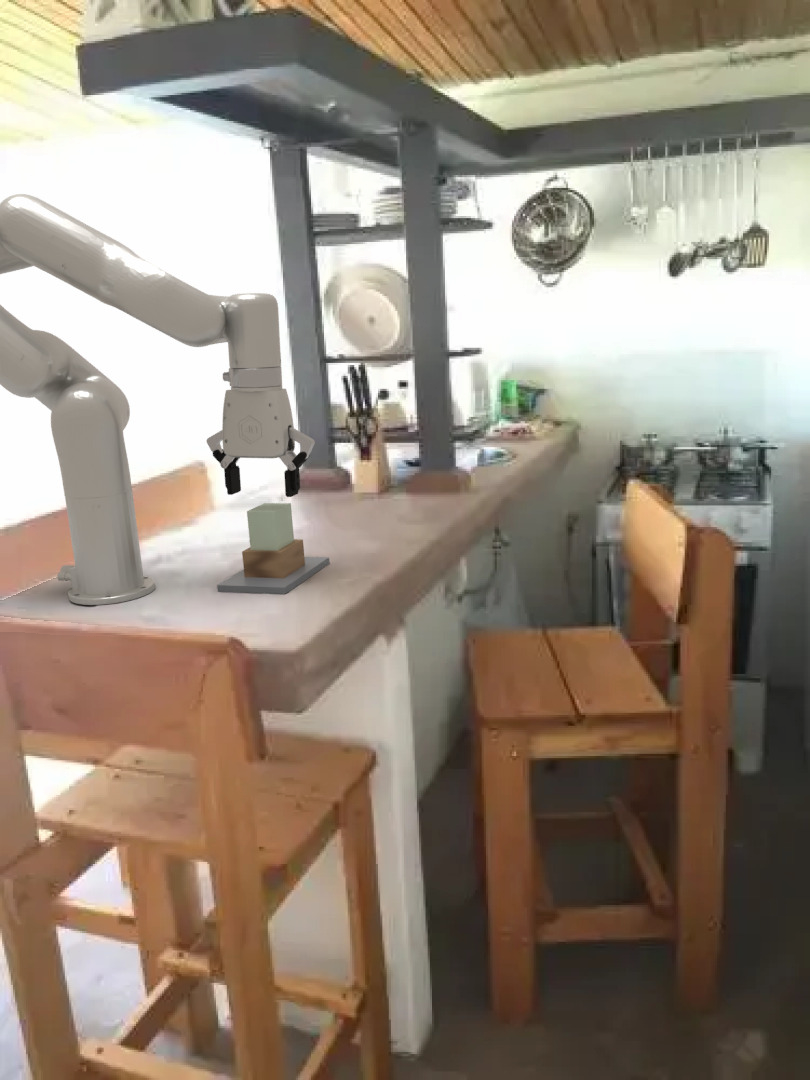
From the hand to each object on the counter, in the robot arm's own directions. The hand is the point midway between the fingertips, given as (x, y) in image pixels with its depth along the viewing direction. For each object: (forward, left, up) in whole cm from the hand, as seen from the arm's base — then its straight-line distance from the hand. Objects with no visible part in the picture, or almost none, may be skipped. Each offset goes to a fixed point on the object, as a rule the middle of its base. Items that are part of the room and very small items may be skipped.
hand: (262, 494), depth 142 cm
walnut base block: (+1, 0, -13) cm, 13 cm away
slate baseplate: (+1, 0, -13) cm, 13 cm away
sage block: (+1, 0, -8) cm, 8 cm away
